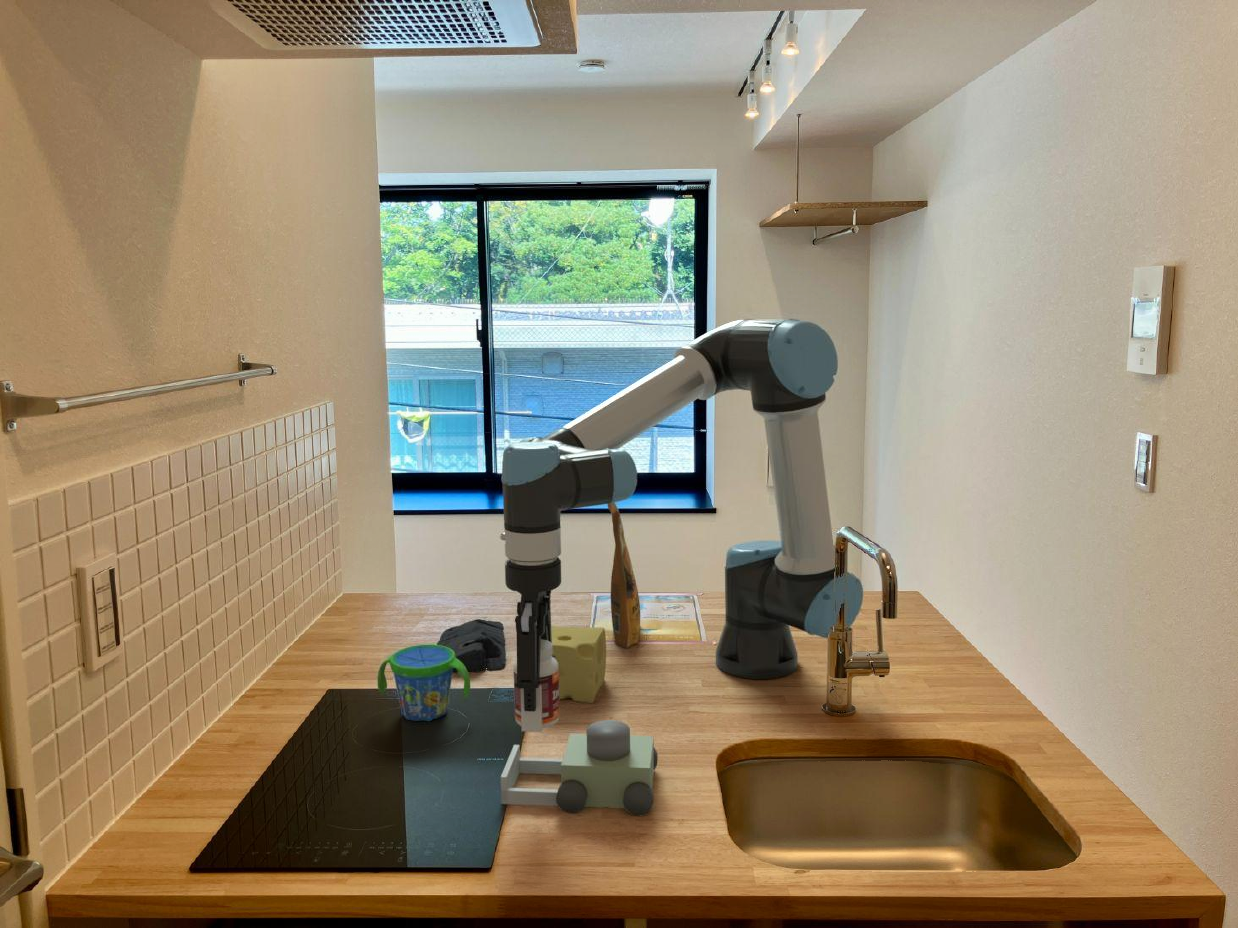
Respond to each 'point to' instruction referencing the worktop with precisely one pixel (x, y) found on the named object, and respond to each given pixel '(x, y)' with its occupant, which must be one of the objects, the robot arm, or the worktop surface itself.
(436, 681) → the snack cup
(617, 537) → the pancake mix bag
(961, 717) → the worktop surface
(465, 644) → the dark slate chunk
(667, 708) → the worktop surface
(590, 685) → the cheese
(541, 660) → the pill bottle
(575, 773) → the toy lawn mower
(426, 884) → the worktop surface
